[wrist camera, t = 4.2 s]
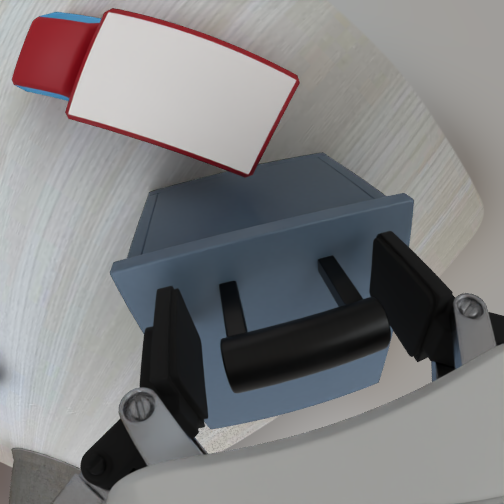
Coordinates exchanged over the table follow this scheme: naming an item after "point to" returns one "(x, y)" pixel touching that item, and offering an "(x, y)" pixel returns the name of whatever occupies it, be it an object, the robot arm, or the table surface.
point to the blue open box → (246, 200)
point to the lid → (278, 307)
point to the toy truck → (158, 84)
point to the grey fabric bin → (37, 477)
